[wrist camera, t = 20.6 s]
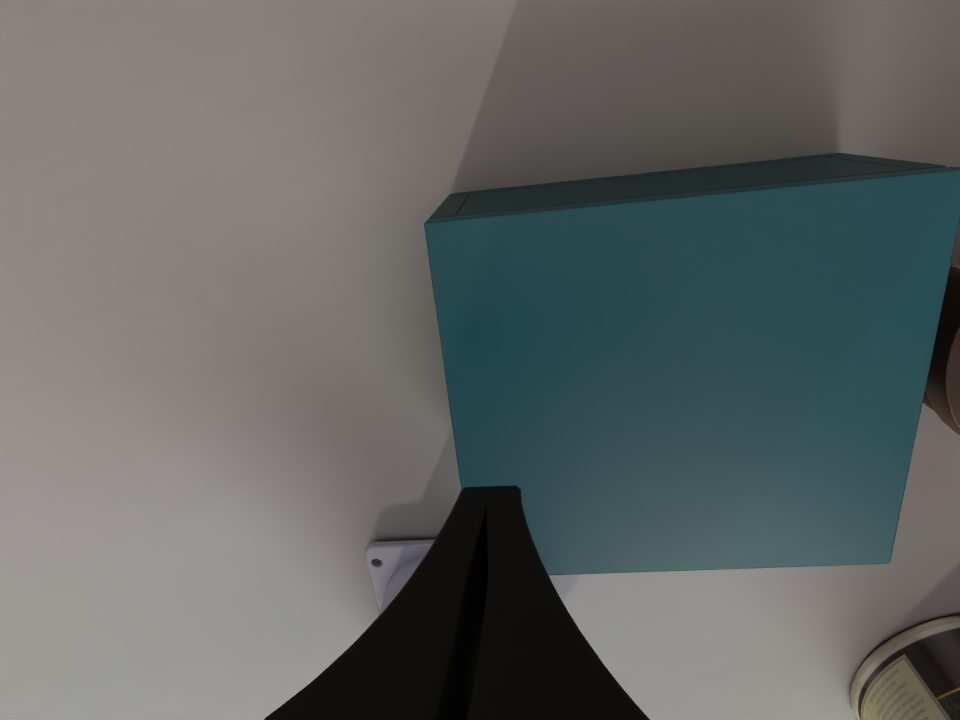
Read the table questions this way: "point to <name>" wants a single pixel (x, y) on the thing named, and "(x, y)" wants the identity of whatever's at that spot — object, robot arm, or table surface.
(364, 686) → the robot arm
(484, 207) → the cool box
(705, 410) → the cool box lid
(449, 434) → the table surface
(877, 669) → the coffee can
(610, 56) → the table surface
